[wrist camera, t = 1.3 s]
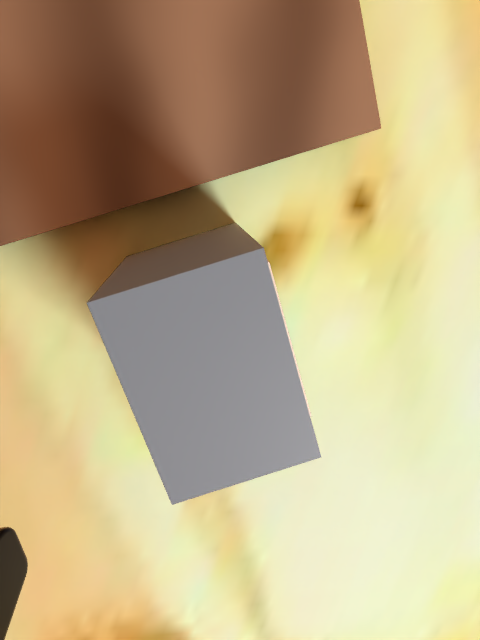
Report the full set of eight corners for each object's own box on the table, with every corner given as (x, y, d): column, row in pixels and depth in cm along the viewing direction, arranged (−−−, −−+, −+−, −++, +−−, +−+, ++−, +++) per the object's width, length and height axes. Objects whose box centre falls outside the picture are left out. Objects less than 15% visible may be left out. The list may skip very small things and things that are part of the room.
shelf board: (-83, 271, 19) (-142, 290, 15) (-267, -69, 15) (-399, -141, 12) (366, 132, 19) (404, 121, 16) (299, -237, 15) (330, -355, 12)
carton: (178, 392, 22) (171, 504, 14) (127, 256, 20) (86, 302, 12) (279, 360, 22) (327, 455, 14) (239, 221, 20) (270, 245, 12)
